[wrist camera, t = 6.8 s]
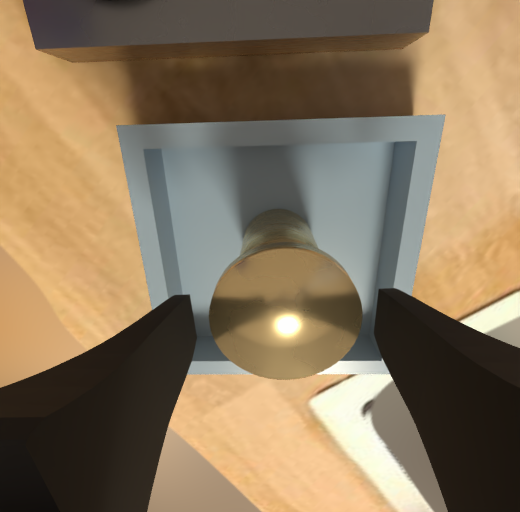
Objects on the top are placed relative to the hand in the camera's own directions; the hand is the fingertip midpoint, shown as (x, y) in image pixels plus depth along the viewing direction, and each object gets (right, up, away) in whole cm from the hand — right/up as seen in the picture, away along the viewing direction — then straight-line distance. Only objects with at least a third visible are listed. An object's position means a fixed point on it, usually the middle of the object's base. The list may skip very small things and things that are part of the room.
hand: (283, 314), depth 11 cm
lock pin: (0, +3, +6) cm, 7 cm away
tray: (0, +3, +7) cm, 7 cm away
